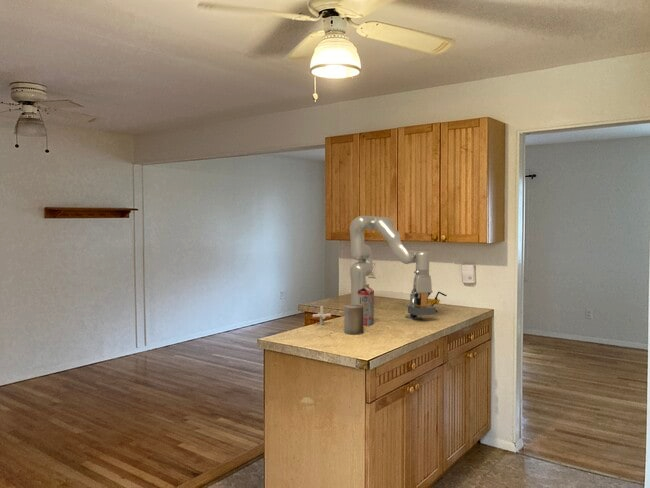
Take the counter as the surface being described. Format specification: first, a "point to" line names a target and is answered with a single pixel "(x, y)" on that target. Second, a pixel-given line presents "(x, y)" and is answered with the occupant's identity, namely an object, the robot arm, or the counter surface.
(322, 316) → the pipe connector
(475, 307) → the counter surface
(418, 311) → the block with square hole
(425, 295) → the wooden block
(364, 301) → the juice carton
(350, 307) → the pillar candle
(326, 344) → the counter surface
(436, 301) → the robot dog
